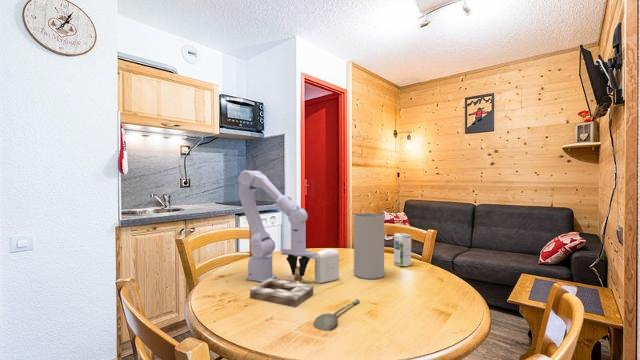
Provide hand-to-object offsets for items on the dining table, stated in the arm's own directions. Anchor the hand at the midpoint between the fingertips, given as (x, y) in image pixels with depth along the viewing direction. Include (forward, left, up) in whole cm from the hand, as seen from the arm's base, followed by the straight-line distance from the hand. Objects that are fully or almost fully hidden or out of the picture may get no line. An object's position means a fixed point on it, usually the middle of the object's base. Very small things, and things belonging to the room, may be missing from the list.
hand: (298, 275), depth 120 cm
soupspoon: (+25, -19, -4) cm, 32 cm away
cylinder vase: (+22, +21, -3) cm, 31 cm away
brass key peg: (0, 0, -3) cm, 3 cm away
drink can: (+32, +41, -3) cm, 52 cm away
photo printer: (+9, +7, -3) cm, 12 cm away
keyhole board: (+1, -14, -3) cm, 14 cm away
